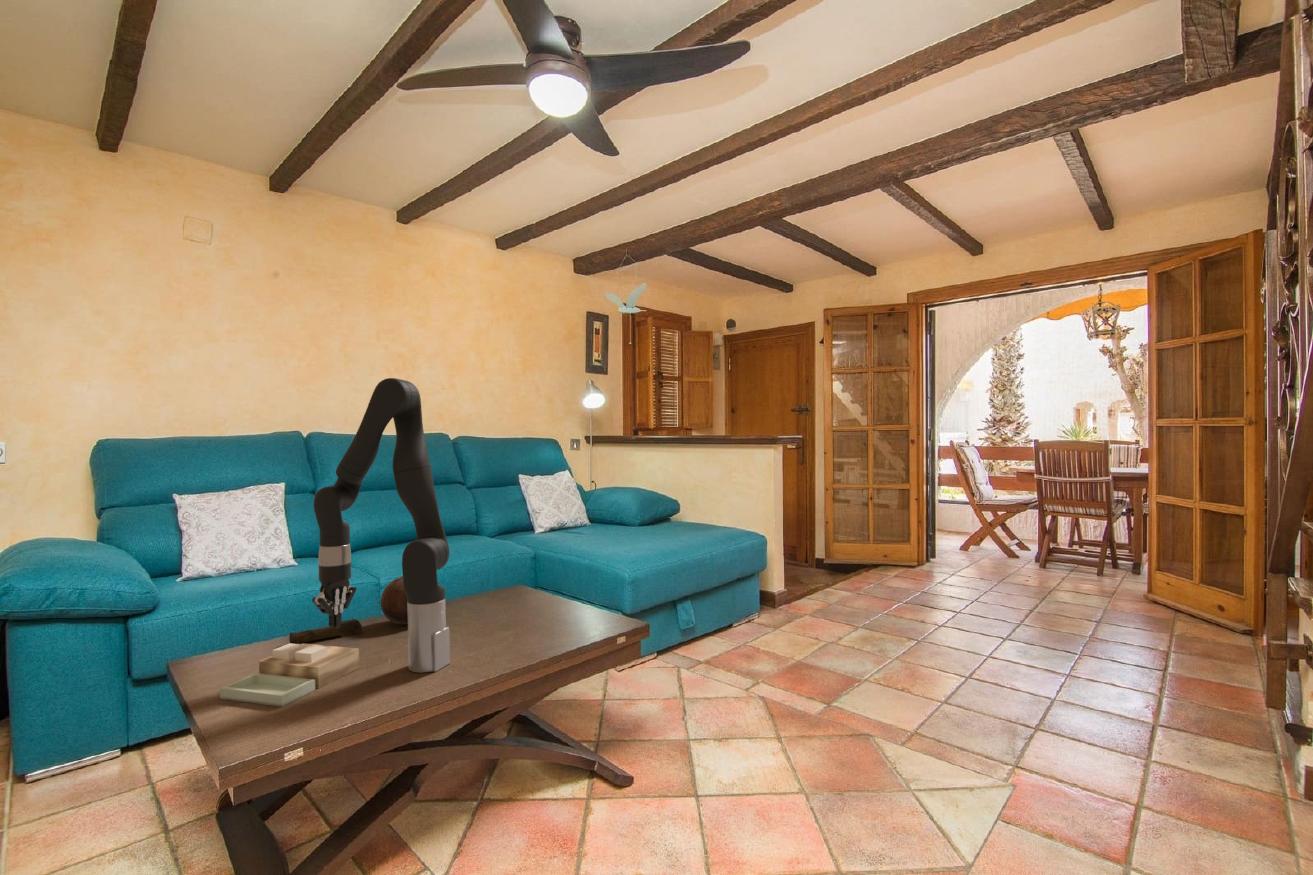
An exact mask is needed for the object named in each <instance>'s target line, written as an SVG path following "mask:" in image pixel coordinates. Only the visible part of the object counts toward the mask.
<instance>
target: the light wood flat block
mask: <svg viewBox="0 0 1313 875" xmlns="http://www.w3.org/2000/svg"><path fill="white" fill-rule="evenodd" d="M301 644H302V645H305V648H307V647H309V646H311V645H313V646H324V647H328V655H326V656H324V657H322V658H320V659H317V660H315V661H313V662H306V661H296V660H295V657H294V658H292V659H289V660H286V659H277V658H273V655H270V656H269V657H266V658H264V659H261V660H259V661H258V673H260V674H269V675H278V676H287V677H296V678H305V679H314V680H315V689H320V688H323V687H325V686H327V685H328V684H330V683H332V682H334V681H337V680H338V679H340V678H342V677H344V676H347V675H348V674H350V673H352V672H354V671H356V670H358V669H360V649H359V648H357V647H355V648H354V647H345V646H336V645H335V646H334V645H323V644H315V643H314V644H313V643H301Z"/></svg>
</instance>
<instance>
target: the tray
mask: <svg viewBox="0 0 1313 875" xmlns="http://www.w3.org/2000/svg"><path fill="white" fill-rule="evenodd" d="M314 691H316V688H315V680H314V679H305V678H296V677H287V676H278V675H269V674H260V673H259V672H255V673H252V674H250V675H247V676H245V677H243V678H240V679H238V680H236V681H233V682H231V683H229V684H226V685H224V686H221V687H220V688H219V699H221V700H227V701H233V702H244V703H250V704H258V705H264V706H273V707H280V708H284V707H285V706H287V705H289V704H291V703H292V702H296V701H297V700H299V699H301V698H303V697H305V696H307V695H309V694H310V693H312V692H314Z"/></svg>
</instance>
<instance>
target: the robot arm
mask: <svg viewBox="0 0 1313 875" xmlns="http://www.w3.org/2000/svg"><path fill="white" fill-rule="evenodd" d="M392 419H393V423H394V427H395V428H394V429H395V435H396V437H395V439H396V440H395V446H394V450H393V451H394V452H393V455H392V456H393V457H392V473H393V478H394V482H395V483H394V484H395V485H394V486H395V490H396V492H397V495H398V496H399V498H400V500H401V502H402V503H403V505H404V506H405V508H406V509H407V511H408V512H409V514H410V516H411V518H412V521H413V524H414V527H415V534H416V539H415V540H413V541H411V542H409V543H408V544H406V546H405V548H404V550H403V552H402V556H401V557H402V558H401V570H402V577H403V585H404V591H405V593H406V595H407V607H408V624H407V640H408V641H407V643H408V644H407V645H408V646H407V648H408V649H407V650H408V651H407V652H408V670H409V671H410V672H413V673H429V672H430V673H431V672H439V671H440V670H441V669H443V668H444V667H446V666H447V665H449V664H450V663H451V653H450V652H451V648H450V646H451V645H450V642H451V640H450V639H451V637H450V627H449V626H447V620H446V618H447V617H446V588H445V587H444V586H443V585H441V584H439V583H438V570H440V569H442V568H443V567H445V566H446V565H447V563H448V561H449V559H450V546H449V543H448V539H447V535H446V532H445V529H444V525H443V522H442V519H441V514H440V511H439V505H438V501H437V495H436V491H435V484H434V477H433V472H432V466H431V462H430V458H429V453H428V446H427V441H426V437H425V432H424V426H423V413H422V399H421V394H420V390H419V389H418V388H417V386H416V385H415V384H414V383H413V382H411V381H408V380H403V379H400V378H394V377H389V378H384V379H383V380H380V381H379V382H378V384H377V385H376V386H375V387H374V389H373V392H372V394H371V397H370V399H369V402H368V404H367V407H366V409H365V412H364V415H363V417H362V419H361V422H360V423H359V424H360V425H359V426H358V428H357V431H356V433H355V435H354V437H353V439H352V441H351V443H350V445H349V447H348V448H347V450H346V452H345V453H344V454H343V457H342V458H341V460H340V461H339V463H338V465H337V467H336V469H335V475H336V477H337V479H336V482H335V484H334V485H331V486H324V487H322V488H320V489H319V490H318V491H317V492H316V493H315V496H314V498H313V511H314V514H315V519H316V523H317V525H318V528H319V550H318V580H319V582H320V584H321V586H320V588H319V594H318V595H317V596H316V597H315V596H314V597H312V600H311V601H312V603H313V604H314V605H315V606H316V608H317V609H318V610H319V612H321V614H322V615H323V614H325V615H328V627H330V628H331V629H336V628H339V627H340V626H341V622H342V621H343V620H342V617H343V616H342V613H343V612H344V611H345V609H346V610H347V609H348V608H349V606H350V604H351V603H352V600H353V599H354V596H355V594H356V592H357V587H356V586H352V585H351V583H350V579H351V578H352V551H351V530H350V528H351V527H350V524H349V523H348V522H347V521H344V520H343V516H342V512H343V511H344V512H345V511H346V510H348V509H350V508H351V507H352V506H353V505H354V503H355V502H356V500H357V498H358V496H359V494H360V490H361V487H362V483H363V480H364V479H365V477H366V476H367V474H368V472H369V470H370V469H371V468H372V466H373V464H374V462H375V461H376V457H377V455H378V452H379V448H380V444H381V443H380V442H381V439H382V437H383V433H384V431H385V429H386V428H387V426H388V425H389V423H390V422H391V420H392Z"/></svg>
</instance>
